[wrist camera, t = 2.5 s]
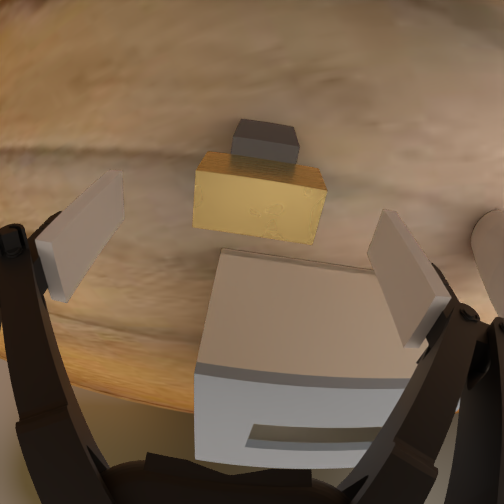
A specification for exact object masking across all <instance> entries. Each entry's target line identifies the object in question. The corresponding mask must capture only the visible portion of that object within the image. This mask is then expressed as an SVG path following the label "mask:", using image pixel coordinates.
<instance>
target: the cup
mask: <svg viewBox="0 0 504 504" xmlns="http://www.w3.org/2000/svg"><path fill="white" fill-rule="evenodd" d="M471 248H472V251H473V255H474V258H475V262H476V265H477V269H478V271H479V274H480V276H481V278H482V281H483V283H484V286H485V288H486V291H487V293H488V296H489V298H490V300H491V302H492V304H493V306H494V308H495V310H496V312H497V314H498V316H499V317H502V318H504V211H501V210H494V211H491V212H489V213H487V214H486V215H484V216H483V217H482V218H481V219H480V220H479V221H478V223H477V224H476V226H475V228H474V230H473V232H472V236H471Z"/></svg>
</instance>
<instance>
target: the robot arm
mask: <svg viewBox="0 0 504 504" xmlns="http://www.w3.org/2000/svg"><path fill="white" fill-rule="evenodd" d="M124 219H125V216H124V197H123V171H121V170H108V171H107V172H106V173H105V174H103V175H102V176H101V177H100V178H99V179H98V180H96V181H95V182H94V183H93V184H92V185H91V186H90V187H88V188H87V189H86V190H85V191H84V192H83V193H82V194H81V195H80V196H79V197H77V198H76V199H75V200H74V201H73V202H72V203H71V204H70V205H69V206H68V207H67V208H66V209H65V210H64V211H59V212H57V213H56V214H54V215H52V216H50V217H49V218H48V219H47V220H46V221H45V222H44V224H42V225H41V226H40V227H39V229H37V230H36V231H35V232H34V233H33V234H32V235H31V236H30V237H29V238H28V239H27V237H26V233H25V228H24V226H23V225H21V224H9V225H7V226H4V227H2V228H1V229H0V329H1V323H2V326H3V335H4V343H5V350H6V356H7V362H8V368H9V373H10V379H11V384H12V388H13V392H14V397H15V401H16V406H17V409H18V413H19V418H20V419H19V422H17V423H16V433H17V436H18V440H19V444H20V446H21V450H22V453H23V456H24V459H25V461H26V465H27V468H28V471H29V473H30V476H31V479H32V481H33V484H34V486H35V489H36V491H37V494H38V496H39V498H40V501H41V503H42V504H424V502H425V500H426V498H427V496H428V494H429V492H430V490H431V488H432V486H433V484H434V482H435V480H436V478H437V475H438V468H436V467H434V463H435V460H436V458H437V455H438V453H439V451H440V449H441V446H442V444H443V442H444V439H445V437H446V434H447V432H448V430H449V427H450V425H451V422H452V419H453V416H454V414H455V411H456V408H457V405H458V403H459V400H460V407H459V419H458V427H457V436H456V444H455V450H454V457H453V463H452V469H451V475H450V479H449V484H448V489H447V494H446V498H445V502H444V504H504V318H502V317H496V318H495V319H494V320H493V322H492V323H491V324H490V325H489V324H486V323H483V322H481V321H480V317H479V315H478V313H477V312H476V311H475V310H474V309H473V308H472V307H470V306H468V305H466V304H463V303H460V302H459V301H458V299H457V297H456V295H455V294H454V292H453V290H452V289H451V287H450V286H449V284H448V282H447V280H445V277H444V276H443V274H442V272H441V271H440V270H439V269H438V268H437V267H436V266H435V265H434V264H433V263H430V261H429V259H428V258H427V256H426V255H425V253H424V252H423V250H422V249H421V247H420V246H419V244H418V243H417V241H416V240H415V238H414V237H413V235H412V234H411V232H410V231H409V229H408V228H407V226H406V225H405V224H404V222H403V221H402V219H401V218H400V216H399V215H398V214H397V212H396V211H391V210H387V209H383V211H382V213H381V216H380V219H379V222H378V225H377V227H376V230H375V233H374V236H373V238H372V241H371V244H370V246H369V249H368V252H367V255H368V257H369V260H370V262H371V264H372V267H373V269H374V272H375V274H376V276H377V279H378V281H379V284H380V286H381V289H382V291H383V294H384V296H385V299H386V301H387V304H388V307H389V309H390V312H391V315H392V317H393V320H394V323H395V325H396V328H397V331H398V334H399V336H400V339H401V342H402V345H403V348H419V347H420V346H421V344H422V343H423V341H424V340H425V338H426V339H427V342H428V344H429V345H428V347H427V348H426V350H425V351H424V352H423V354H422V355H421V356H420V358H419V359H418V361H417V362H416V363H417V364H418V365H417V367H416V369H415V371H414V373H413V375H412V377H411V379H410V380H409V382H408V384H407V386H406V388H405V390H404V391H403V393H402V395H401V397H400V398H399V400H398V402H397V404H396V405H395V407H394V409H393V410H392V412H391V414H390V415H389V417H388V419H387V420H386V422H385V424H384V425H383V427H382V428H381V430H380V431H379V433H378V434H377V436H376V438H375V439H374V441H373V442H372V444H371V445H370V446H369V448H368V449H367V451H366V452H365V454H364V455H363V457H362V458H361V459H360V461H359V462H358V464H357V465H356V466H355V468H354V469H353V470H352V472H351V473H350V474H349V475H348V476H347V477H346V479H344V480H343V481H342V482H341V484H339V485H338V486H337V488H335V487H334V486H332V485H330V484H328V483H325V482H323V481H320V480H317V479H314V478H312V474H311V469H304V470H303V469H268V470H263V471H257V472H251V473H245V474H237V475H226V474H223V473H220V472H217V471H215V470H212V469H209V468H206V467H204V466H201V465H198V464H196V463H193V462H191V461H188V460H184V459H178V458H173V457H168V456H163V455H158V454H153V453H149V452H147V455H146V460H138V461H130V462H126V463H122V464H119V465H116V466H113V467H111V468H110V467H109V465H108V463H107V462H106V460H105V458H104V457H103V455H102V453H101V452H100V450H99V448H98V447H97V445H96V443H95V441H94V439H93V436H92V434H91V432H90V430H89V428H88V425H87V423H86V421H85V419H84V416H83V414H82V412H81V409H80V407H79V404H78V402H77V399H76V397H75V394H74V392H73V389H72V387H71V384H70V381H69V378H68V376H67V373H66V370H65V367H64V364H63V361H62V358H61V355H60V352H59V349H58V345H57V342H56V339H55V335H54V332H53V328H52V325H51V321H50V317H49V313H48V310H47V305H46V301H45V298H44V295H43V294H44V293H45V291H46V290H47V288H48V290H49V293H50V296H51V299H52V300H56V301H60V302H64V303H68V301H69V299H70V298H71V296H72V295H73V293H74V291H75V290H76V288H77V287H78V285H79V284H80V282H81V281H82V279H83V278H84V276H85V274H86V273H87V271H88V270H89V268H90V267H91V266H92V264H93V263H94V261H95V260H96V258H97V257H98V255H99V254H100V252H101V251H102V250H103V248H104V247H105V245H106V244H107V243H108V241H109V240H110V238H111V237H112V236H113V234H114V233H115V231H116V230H117V229H118V227H119V226H120V225H121V223H122V222H123V221H124Z"/></svg>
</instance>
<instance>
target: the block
mask: <svg viewBox="0 0 504 504" xmlns="http://www.w3.org/2000/svg"><path fill="white" fill-rule="evenodd" d="M299 148H300V146H299V143H298V140H297V137H296V133H295V130H294V127H291V126H285V125H279V124H273V123H267V122H261V121H254V120H247V119H241V120H240V123H239V125H238V127H237V129H236V131H235V133H234V136H233V141H232V149H231V154H233V155H241V156H248V157H254V158H261V159H267V160H274V161H280V162H286V163H291V164H296V162H297V158H298V153H299Z"/></svg>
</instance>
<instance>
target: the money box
mask: <svg viewBox="0 0 504 504" xmlns="http://www.w3.org/2000/svg"><path fill="white" fill-rule="evenodd" d="M428 345H429V344H428V342H427V339H426V338H425V340H424V341H423V343H422V344H421V346H420V347H419V348H403V345H402V342H401V339H400V336H399V334H398V331H397V328H396V325H395V323H394V320H393V317H392V315H391V312H390V309H389V307H388V304H387V301H386V299H385V296H384V294H383V291H382V289H381V286H380V284H379V281H378V279H377V276H376V274H375V272H374V270H368V269H361V268H354V267H348V266H341V265H334V264H327V263H320V262H314V261H307V260H300V259H293V258H287V257H280V256H273V255H266V254H259V253H253V252H246V251H239V250H232V249H225V248H222V249H221V253H220V258H219V262H218V266H217V271H216V275H215V279H214V284H213V288H212V293H211V297H210V302H209V306H208V311H207V315H206V320H205V325H204V329H203V334H202V339H201V343H200V348H199V353H198V358H197V363H196V368H195V372H194V424H195V459H197V460H203V461H210V462H218V463H225V464H234V465H244V466H255V467H271V468H296V469H319V468H320V469H322V468H349V467H355V466H356V465H357V464H358V462H359V461H360V459H361V458H362V457H363V455H364V454H365V452H366V451H367V449H368V448H369V446H370V445H371V444H372V442H373V441H374V439H375V438H376V436H377V434H378V433H379V431H380V430H381V428H382V427H383V425H384V424H385V422H386V420H387V419H388V417H389V415H390V414H391V412H392V410H393V409H394V407H395V405H396V404H397V402H398V400H399V398H400V397H401V395H402V393H403V391H404V390H405V388H406V386H407V384H408V382H409V380H410V379H411V377H412V375H413V373H414V371H415V369H416V367H417V365H418V364H417V363H416V362H417V361H418V359H419V358H420V356H421V355H422V354H423V352H424V351H425V350H426V348H427V347H428ZM459 407H460V400H459V403H458V405H457V408H456V411H457V410H458V409H459ZM456 411H455V412H456Z"/></svg>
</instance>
